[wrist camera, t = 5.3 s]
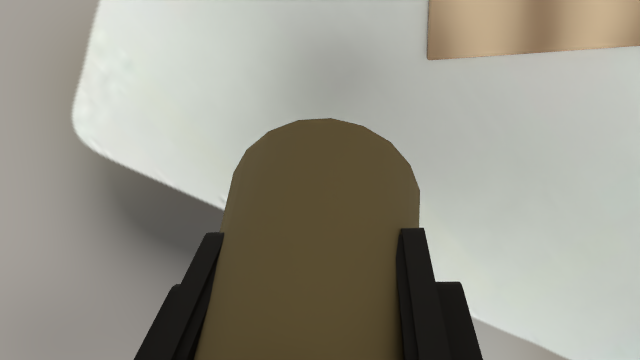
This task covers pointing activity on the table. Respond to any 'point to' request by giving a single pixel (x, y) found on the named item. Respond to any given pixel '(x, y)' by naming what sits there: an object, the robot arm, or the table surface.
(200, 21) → the table surface
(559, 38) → the wooden board
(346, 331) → the pepper shaker
